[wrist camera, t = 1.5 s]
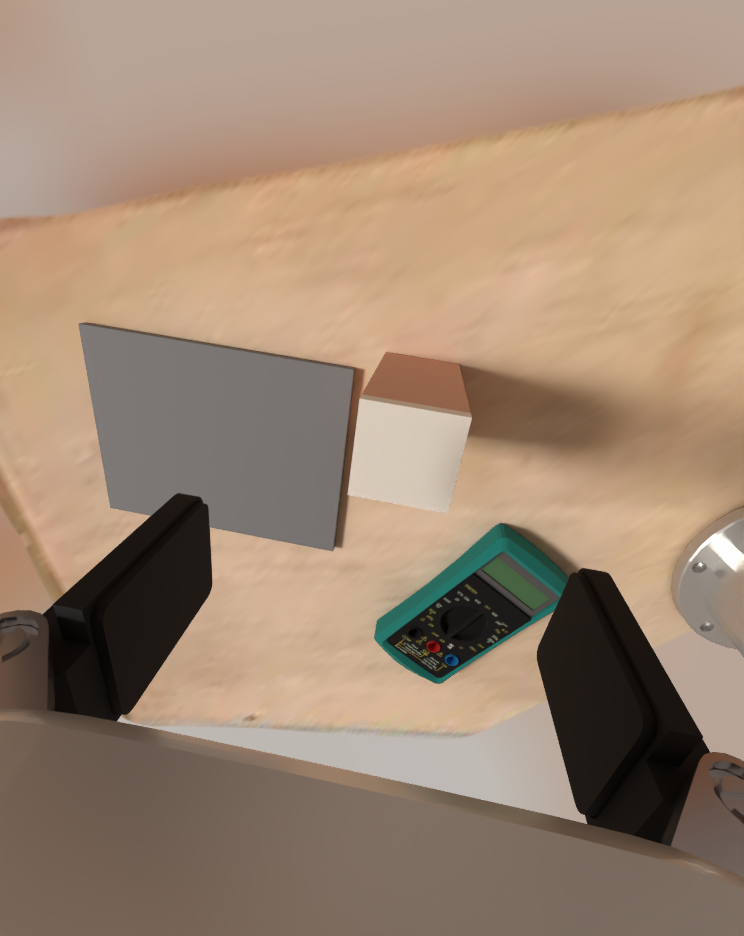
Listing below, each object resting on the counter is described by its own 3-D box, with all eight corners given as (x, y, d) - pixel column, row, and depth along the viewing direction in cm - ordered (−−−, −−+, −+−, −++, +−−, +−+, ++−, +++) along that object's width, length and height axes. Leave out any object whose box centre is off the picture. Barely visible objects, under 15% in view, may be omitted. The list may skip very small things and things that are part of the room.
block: (458, 364, 25) (471, 417, 16) (443, 432, 27) (447, 513, 18) (385, 352, 26) (359, 398, 17) (375, 420, 28) (347, 494, 19)
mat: (355, 367, 26) (353, 369, 26) (334, 546, 33) (332, 551, 32) (85, 322, 27) (78, 323, 27) (115, 503, 34) (110, 507, 33)
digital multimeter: (371, 620, 36) (366, 648, 33) (501, 514, 30) (508, 539, 27) (434, 665, 37) (434, 695, 35) (571, 573, 31) (584, 601, 29)
